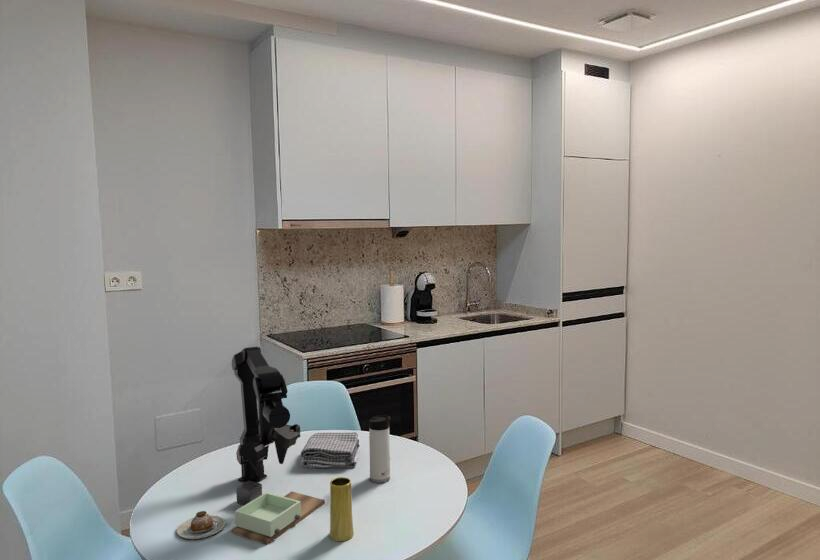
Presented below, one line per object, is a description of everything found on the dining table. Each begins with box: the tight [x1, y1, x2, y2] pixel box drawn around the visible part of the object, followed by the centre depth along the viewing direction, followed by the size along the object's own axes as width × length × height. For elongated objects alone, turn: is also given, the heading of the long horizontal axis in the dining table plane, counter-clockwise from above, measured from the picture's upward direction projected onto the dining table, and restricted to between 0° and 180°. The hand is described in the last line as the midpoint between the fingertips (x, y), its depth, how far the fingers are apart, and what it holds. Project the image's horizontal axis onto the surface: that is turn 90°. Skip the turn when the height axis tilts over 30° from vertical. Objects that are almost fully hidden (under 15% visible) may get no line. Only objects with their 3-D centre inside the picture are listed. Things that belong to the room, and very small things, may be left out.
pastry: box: [176, 510, 226, 541], centre depth 152 cm, size 12×12×5 cm
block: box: [235, 481, 263, 507], centre depth 166 cm, size 5×5×5 cm
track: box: [231, 491, 326, 545], centre depth 157 cm, size 12×24×1 cm, turn 152°
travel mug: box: [368, 414, 391, 484], centre depth 180 cm, size 6×7×20 cm
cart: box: [234, 492, 301, 537], centre depth 153 cm, size 14×12×4 cm
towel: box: [299, 431, 361, 469], centre depth 196 cm, size 15×18×8 cm
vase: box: [329, 476, 355, 542], centre depth 147 cm, size 6×6×14 cm
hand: (270, 470), depth 162 cm, fingers open, 9 cm apart
